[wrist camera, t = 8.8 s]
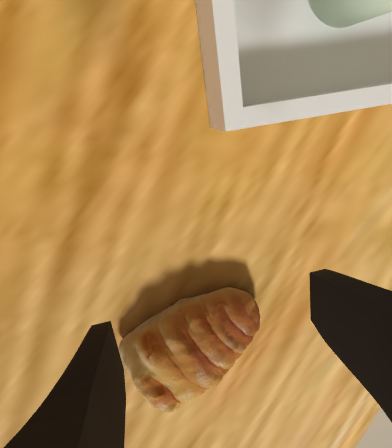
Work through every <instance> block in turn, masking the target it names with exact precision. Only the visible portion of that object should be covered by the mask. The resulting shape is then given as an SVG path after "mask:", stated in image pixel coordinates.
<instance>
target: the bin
mask: <svg viewBox="0 0 392 448" xmlns="http://www.w3.org/2000/svg"><path fill="white" fill-rule="evenodd" d="M195 3H196V11H197V20H198V28H199V36H200V45H201V53H202V61H203V70H204V78H205V86H206V95H207V103H208V111H209V120H210V128H213V129H217V130H222V131H231V130H237V129H243V128H249V127H255V126H261V125H267V124H273V123H279V122H285V121H291V120H297V119H303V118H309V117H315V116H321V115H327V114H333V113H339V112H345V111H351V110H357V109H363V108H369V107H374V106H380V105H386V104H392V12H389V13H386V14H383V15H380V16H378V17H375V18H372V19H369V20H366V21H363V22H360V23H357V24H355V25H352V26H348V27H345V28H334V27H330V26H328V25H326V24H324V23H323V22H321V21H320V20H319V19H318V18H317V17H316V16H315V14H314V13H313V11H312V9H311V7H310V5H309V2H308V0H195Z"/></svg>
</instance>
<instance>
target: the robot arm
mask: <svg viewBox="0 0 392 448" xmlns="http://www.w3.org/2000/svg"><path fill="white" fill-rule="evenodd" d="M310 308H311V321H312V322H313V324H314V325H315V327H316V329H317V330H318V332H319V333H320V335H321V336H322V338H323V339H324V341H325V342H326V343H327V344H328V346H329V347H330V348H331V349H332V350H333V352H334V353H335V354H336V355H337V356H338V357H339V359H340V360H341V361H342V362H343V363H344V364H345V365H346V367H347V368H348V369H349V370H350V371H351V372H352V373H353V375H354V376H355V377H356V378H357V379H358V380H359V381H360V383H361V384H362V385H363V386H364V387H365V388H366V389H367V391H368V392H369V393H370V394H371V395H372V397H373V398H374V399H375V400H376V401H377V403H378V404H379V405H380V407H381V408H382V409H383V410H384V412H385V413H386V415H387V416H388V418H389V419H390V420H391V422H392V291H390V290H387V289H384V288H381V287H378V286H375V285H372V284H369V283H366V282H364V281H361V280H358V279H355V278H352V277H349V276H346V275H344V274H341V273H338V272H334V271H331V270H327V269H323V270H319V271H315V272H311V273H310ZM125 410H126V392H125V379H124V369H123V365H122V361H121V358H120V354H119V350H118V347H117V343H116V339H115V336H114V332H113V328H112V325H111V321H109V322H105V323H100V324H96V325H92V326H91V328H90V329H89V331H88V332H87V334H86V336H85V338H84V340H83V341H82V343H81V345H80V347H79V348H78V350H77V352H76V353H75V355H74V357H73V358H72V360H71V362H70V363H69V365H68V366H67V368H66V370H65V371H64V373H63V374H62V376H61V377H60V379H59V380H58V382H57V383H56V385H55V386H54V388H53V389H52V390H51V392H50V393H49V395H48V396H47V398H46V399H45V400H44V402H43V403H42V404H41V406H40V407H39V408H38V409H37V411H36V412H35V413H34V414H33V416H32V417H31V418H30V419H29V420H28V422H27V423H26V424H25V425H24V426H23V427H22V429H21V430H20V431H19V432H18V433H17V434H16V435H15V436H14V437H13V438H12V439H11V440H10V442H9V443H8V444H7V445H6V446H5V447H4V448H124V436H125Z"/></svg>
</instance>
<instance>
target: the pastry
mask: <svg viewBox="0 0 392 448" xmlns="http://www.w3.org/2000/svg"><path fill="white" fill-rule="evenodd" d="M259 326H260V314H259V308H258V306H257V303H256V301H255V300H254V298H253V297H252V295H250V294H249V293H248V292H245V291H242V290H239V289H236V288H232V287H226V288H221V289H218V290H216V291H212V292H210V293H207V294H202V295H199V296H196V297H188V298H183V299H179V300H178V301H176V303H175V304H174V305H173V306H171V307H168V308H166V309H165V310H163V311H162V312H160V313H158V314H156V315H154V316H152V317H150V318H149V319H147V320H146V321H144V322H143V323H142V324H140V325H139V326H137V327H136V328H135V329H134V330H133V331H132V332H130V333H129V334H127V335H126V337H125V338H123V339H122V340H121V342H120V345H119V351H120V355H121V358H122V360H123V362H124V365H125V367H126V369H127V371H128V372H129V373H130V374H131V376H132V379H133V382H134V384H135V386H136V388H137V389H138V390H139V392H140V393H141V394H142V396H143V397H144V398H145V399H146V400H147V401H148V402H149V403H150V404H151V406H152V407H154V408H157V409H161V410H162V411H165V412H172V411H173V410H175V409H178V408H179V407H180V405H181V404H182V403H184V402H186V401H188V400H190V399H193V398H195V397H196V396H199V395H201V394H202V393H204V392H205V390H206V389H208V388H210V387H213V386H215V385H217V384H218V383H219V382H220V381H221V380H222V378H223V376H224V375H225V374H226V373H227V372H228V370H229V369H230V368H231V367H232V366H233V365H234V363H235V361H236V360H237V359H238V358H239V357H240V356H241V355H242V353H243V352H244V351H245V349H246V347H247V346H248V345H249V344H250V343H251V342H252V340H253V337H254V335H255V333H256V332H257V331H258V330H259Z"/></svg>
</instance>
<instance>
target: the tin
mask: <svg viewBox="0 0 392 448" xmlns="http://www.w3.org/2000/svg"><path fill="white" fill-rule="evenodd" d="M308 2H309V5H310V7H311V9H312V11H313V13H314V14H315V16H316V17H317V18H318V19H319V20H320V21H321V22H323V23H324V24H326V25H328V26H330V27H334V28H345V27H348V26H352V25H355V24H357V23H360V22H363V21H366V20H369V19H372V18H375V17H378V16H380V15H383V14H386V13H389V12H392V0H308Z"/></svg>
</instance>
